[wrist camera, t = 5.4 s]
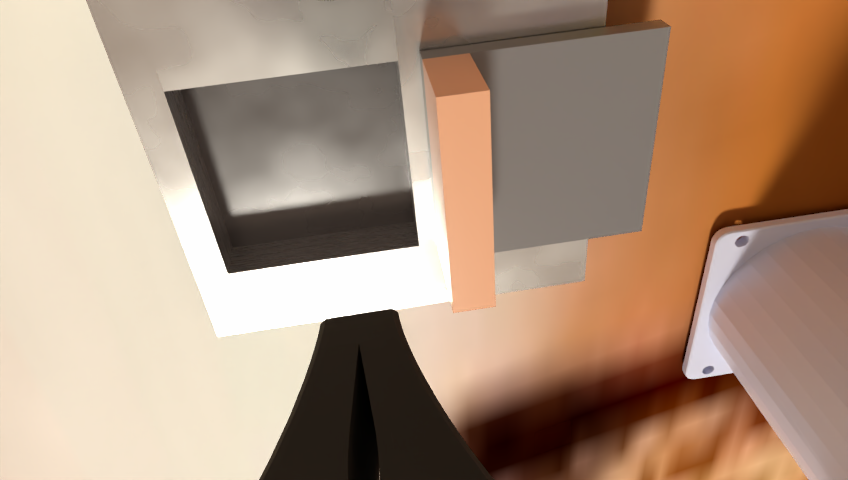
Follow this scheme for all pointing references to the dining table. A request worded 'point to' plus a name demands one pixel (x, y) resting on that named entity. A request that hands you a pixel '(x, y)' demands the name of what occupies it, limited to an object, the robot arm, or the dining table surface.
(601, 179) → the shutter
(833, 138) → the dining table surface
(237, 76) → the socket plate
